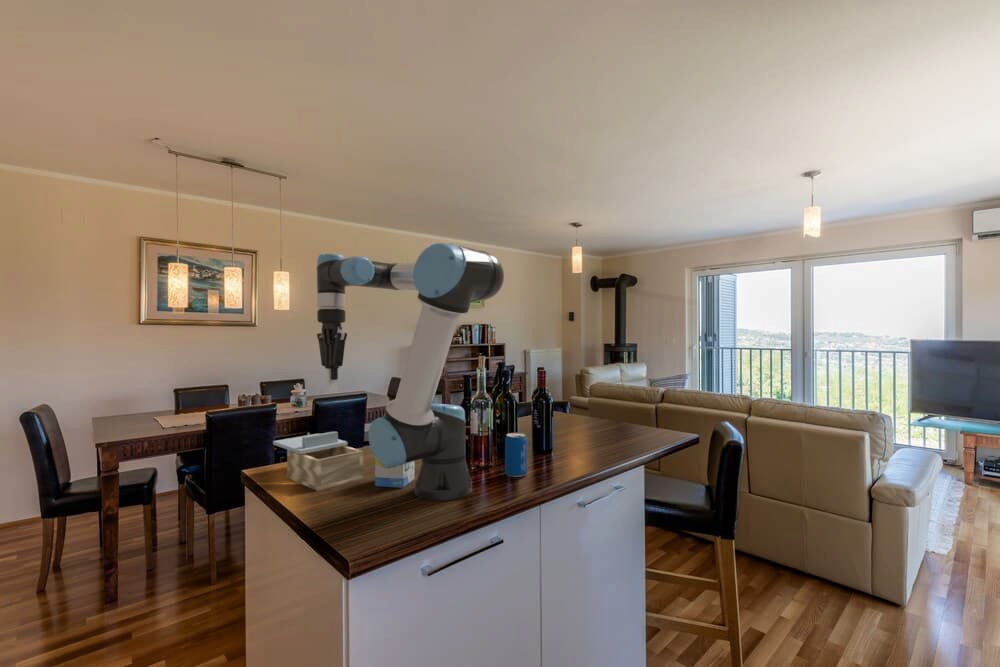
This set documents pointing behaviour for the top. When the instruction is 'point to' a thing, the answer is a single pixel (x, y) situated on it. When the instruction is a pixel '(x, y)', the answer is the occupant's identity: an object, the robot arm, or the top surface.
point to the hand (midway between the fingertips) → (332, 391)
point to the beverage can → (516, 454)
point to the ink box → (393, 474)
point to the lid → (311, 442)
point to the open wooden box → (325, 467)
